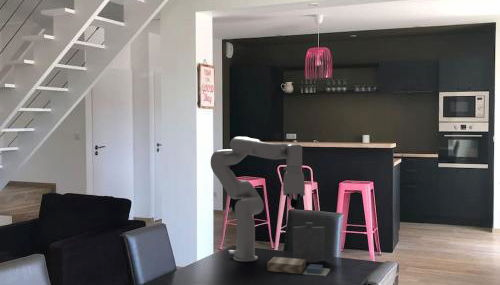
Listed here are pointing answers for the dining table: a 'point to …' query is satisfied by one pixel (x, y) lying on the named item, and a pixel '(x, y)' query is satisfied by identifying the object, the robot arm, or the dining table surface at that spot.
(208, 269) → the dining table surface
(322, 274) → the mat
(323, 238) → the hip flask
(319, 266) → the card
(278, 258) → the deck
